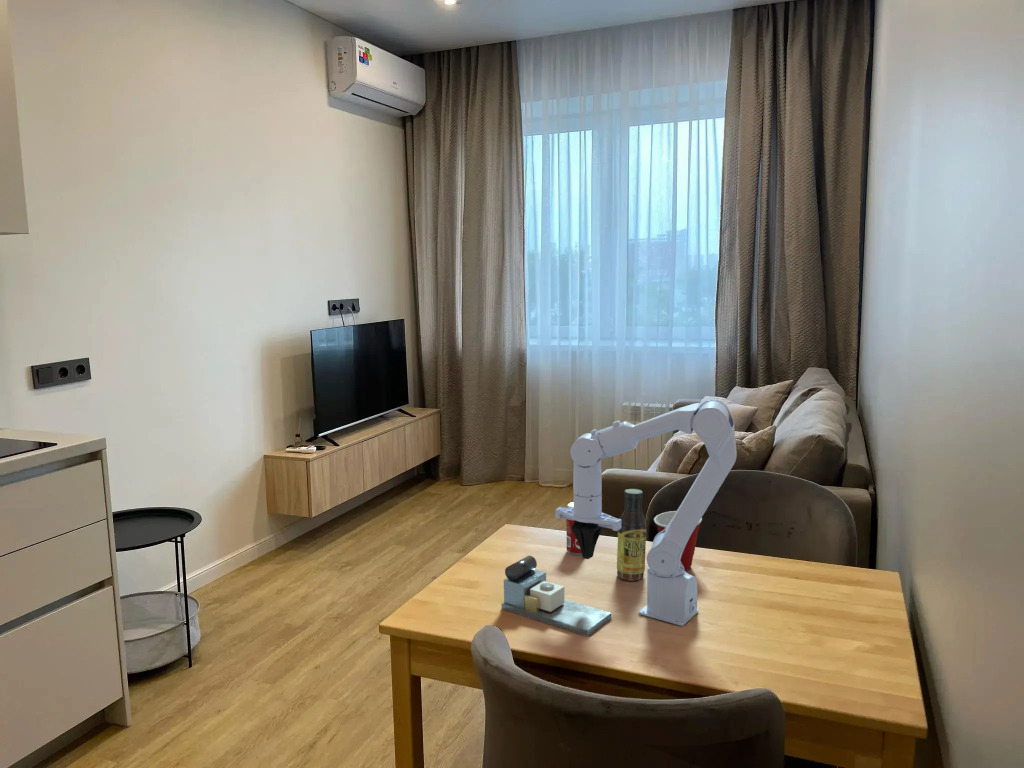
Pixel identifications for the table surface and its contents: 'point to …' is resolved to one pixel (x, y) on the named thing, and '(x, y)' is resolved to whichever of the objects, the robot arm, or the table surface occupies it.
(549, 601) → the white button box
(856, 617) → the table surface
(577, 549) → the soda can
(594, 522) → the robot arm
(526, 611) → the base
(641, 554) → the sauce bottle
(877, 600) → the table surface
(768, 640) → the table surface
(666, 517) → the plastic cup
